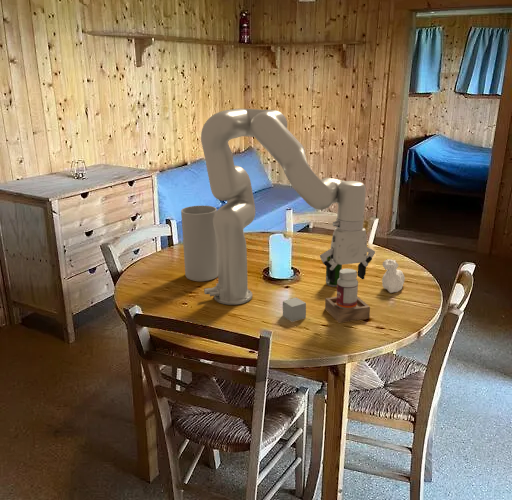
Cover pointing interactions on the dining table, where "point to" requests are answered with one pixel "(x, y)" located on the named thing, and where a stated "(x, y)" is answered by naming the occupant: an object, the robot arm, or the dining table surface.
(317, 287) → the dining table surface
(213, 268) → the cylinder vase
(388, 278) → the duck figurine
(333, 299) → the brown square tray
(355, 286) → the pill bottle
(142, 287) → the dining table surface
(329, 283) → the beer can
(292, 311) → the grey cube
